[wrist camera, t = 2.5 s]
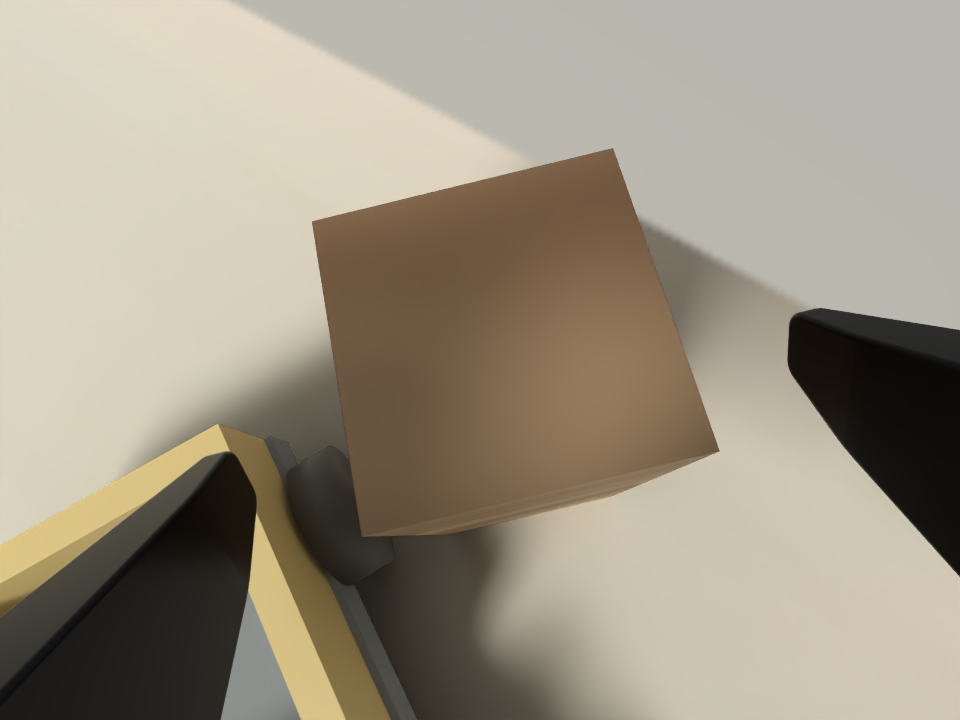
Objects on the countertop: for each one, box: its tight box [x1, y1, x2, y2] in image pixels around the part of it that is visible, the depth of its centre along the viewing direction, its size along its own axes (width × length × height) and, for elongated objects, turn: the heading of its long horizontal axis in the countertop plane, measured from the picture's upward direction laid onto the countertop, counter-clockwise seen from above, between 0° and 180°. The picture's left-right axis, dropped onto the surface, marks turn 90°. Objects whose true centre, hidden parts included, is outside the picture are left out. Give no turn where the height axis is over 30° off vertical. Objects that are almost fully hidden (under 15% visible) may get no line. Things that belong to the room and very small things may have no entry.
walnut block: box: [312, 149, 719, 537], centre depth 13 cm, size 5×5×10 cm
